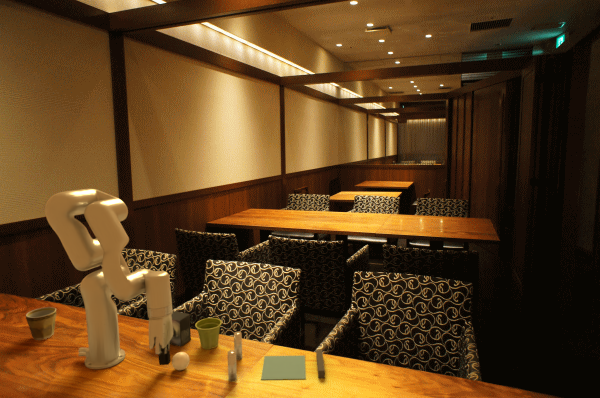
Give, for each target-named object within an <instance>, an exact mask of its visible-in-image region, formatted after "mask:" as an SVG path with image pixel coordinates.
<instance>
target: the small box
mask: <svg viewBox="0 0 600 398" xmlns="http://www.w3.org/2000/svg"><path fill="white" fill-rule="evenodd" d="M172 311H173V313H172V314H171V316H172V322H173V337H172V338H171V340H170V341H169V342H170V346H171V345H172V346H176V347H179V346H180V348H182V347H183V346H185V345H186V344H187V343H188V341H189V342H190V341H191V340H192V338H191V337H192V336H191V316H190V313H185V312H180V311H176V310H175V311H174V310H172ZM181 346H182V347H181Z"/></svg>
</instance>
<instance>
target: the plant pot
mask: <svg viewBox="0 0 600 398" xmlns="http://www.w3.org/2000/svg"><path fill="white" fill-rule="evenodd" d="M222 323H223V321H222V320H221V319H219V318H217V317H207V318H203V319H201V320H198V321H197V322H196V323H195V325H194V326H195V328H196V330H197V333H198V337H199V343H200V346H201V348H202V349H203V350H211V349H215V348H216V347H218V346H219V340H220V339H219V338H220V328H221V326H222Z"/></svg>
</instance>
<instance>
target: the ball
mask: <svg viewBox="0 0 600 398" xmlns="http://www.w3.org/2000/svg"><path fill="white" fill-rule="evenodd" d="M190 361H191V360H190V355H188V353H186V352H185V351H180V352H177V353H175V354H174V355H173V356H172V360H171V365H172V367H173V369H175V370H176V371H183V370H185V369H186V368H188V366H189V364H190Z"/></svg>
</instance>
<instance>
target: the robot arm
mask: <svg viewBox="0 0 600 398" xmlns="http://www.w3.org/2000/svg"><path fill="white" fill-rule="evenodd" d="M45 203H46V204H45V208H44V213H45V217H46V220H47V223H48V225H49V226H50V228H52V230H53V231H54V232H55V234H56V235H57V237H58V238H59V240H60V242H61V244H62V247H63V248H64V250H65V252H66V254H67V256H68V259H69V260H70V261H71V263H72V265H73V267H74V268H75V270H78V271H80V272H86V271H88V270H91V269H94V268H98V267H100V266H101V268H100V269H98V270H95V271H93V272H91V273H89V274H87V275H86V276H85V277H84V278H83V279H82V280H81V282H80V285H79V290H80V294H81V297H82V301H83V304H84V309H85V311H84V312H85V320H86V331H87V341H88V347H79V348H78V357H84V358H85V359H84V365H85V367H86V368H88V369H90V370H101V369H103V370H104V369H107V368H111V367H113V366H116V365H118V364H119V363H121V362H122V361H123V360H124V359H125V357H126V351H125V350H124V349H122V348H121V344H120V332H119V331H120V329H119V318H118V315H119V314H118V308H117V307H118V306H117V304H116V302H114V301H113V299H112V295H114V297H115V298H116V299H118V300H120V301H124V302H126V301H130V300H132V299H134V298H136V297H138V296H139V295H142V294H144V293H145V298H146V307H147V318H149V319H148V346H149V349H150V350H152V349H154V348H155V350H154V351H155V355H158V362H159V363H158V365H159V366H169V365H170V363H171V353H170V351H171V350H170V349H171V347H170V346H171V344H170V342H169V341H170V340H171V338H172V337H173V322H172V316H171V314H172V313H173V311H174V310H173V303H172V302H173V300H172V291H171V290H172V289H171V281H170V280H171V279H170V274H169V273H168V271H165V270H157V271H155V270H152V269H149V268H140V269H136V270H134V271H132V272H131V271H130V267H129V266H128V264H127V262H126V259H125V258H124V256H123V254H122V252H123V250H124V249H125V247H126V246H127V245H128V244H129V241H130V238H129V236H128V234H127V232H126V230H125V228H124V226H123V225H122V223H121V222H123V221H125V220H126V219H127V217H128V214H129V210H128V209H129V208H128V206H127V205H126V203H125V202H124V201H123V200H122V199H120V198H119V197H116V196H114V195H111V194H109V193H106V192H104V191H101V190H99V189H96V188H83V189H73V190H66V191H65V190H63V191H61V192H57V193H55V194H53V195H51V196H50V197H49V198H48V200H47V201H46V202H45ZM79 215H84V218H85V220H86V222H87V224H88V225H89V228H90V229H91V231H92V233H93V234H94V236H95V238H93V237H92V236H91V234H90V233H89V230H88V229H87V227H86V226H85V225H84V224H83V223H82V222H81V221H80V220H78V219H77V218H75V216H79Z"/></svg>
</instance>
